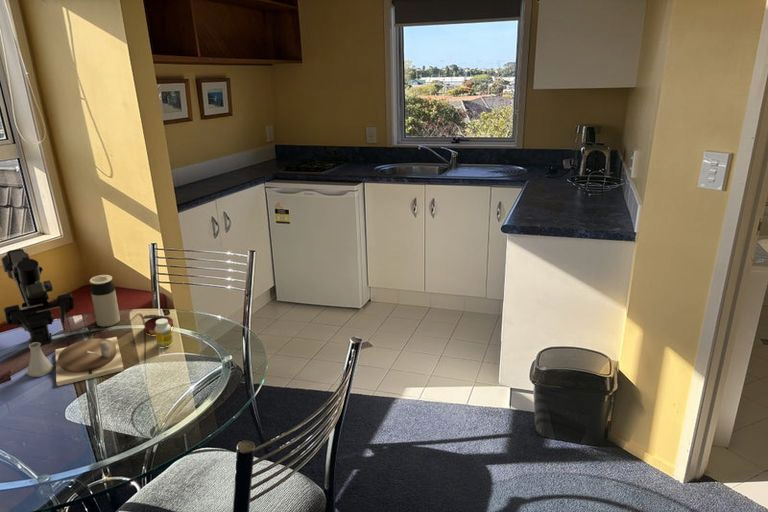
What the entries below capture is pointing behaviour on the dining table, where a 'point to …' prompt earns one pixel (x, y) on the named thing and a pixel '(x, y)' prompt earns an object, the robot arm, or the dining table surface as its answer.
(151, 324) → the dark red handled pot
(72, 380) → the stand
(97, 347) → the knobbed disc on base
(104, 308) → the travel mug
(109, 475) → the dining table surface
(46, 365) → the flask
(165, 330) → the supplement bottle
